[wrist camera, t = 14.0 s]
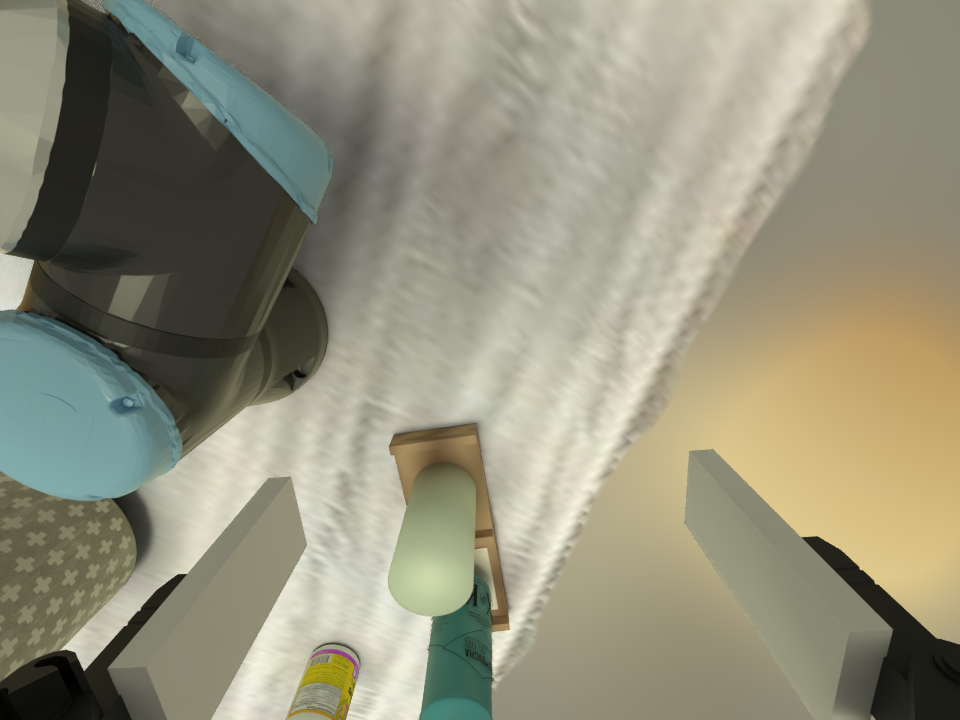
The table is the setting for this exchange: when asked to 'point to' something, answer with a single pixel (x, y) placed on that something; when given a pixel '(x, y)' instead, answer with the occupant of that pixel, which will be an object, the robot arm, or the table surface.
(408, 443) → the wooden tray
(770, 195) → the table surface
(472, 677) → the beverage bottle
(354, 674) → the supplement bottle
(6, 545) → the planter
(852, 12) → the table surface
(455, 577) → the sage canister
